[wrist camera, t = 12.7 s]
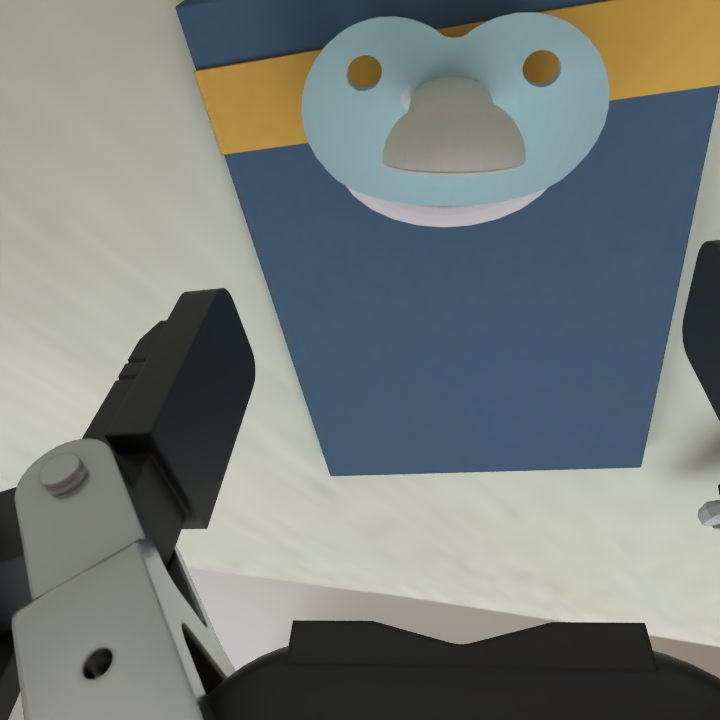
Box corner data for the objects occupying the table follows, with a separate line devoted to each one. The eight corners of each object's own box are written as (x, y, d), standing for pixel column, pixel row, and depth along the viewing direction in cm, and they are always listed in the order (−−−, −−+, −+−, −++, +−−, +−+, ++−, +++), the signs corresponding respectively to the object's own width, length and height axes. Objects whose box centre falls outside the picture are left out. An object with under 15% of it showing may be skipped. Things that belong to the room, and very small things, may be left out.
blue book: (332, 460, 29) (329, 478, 28) (185, -2, 16) (172, 6, 15) (636, 450, 26) (642, 470, 26) (744, -112, 14) (764, -109, 13)
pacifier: (562, 215, 18) (606, -7, 14) (601, 351, 14) (682, 83, 10) (329, 215, 19) (308, 5, 15) (295, 344, 15) (251, 94, 11)
